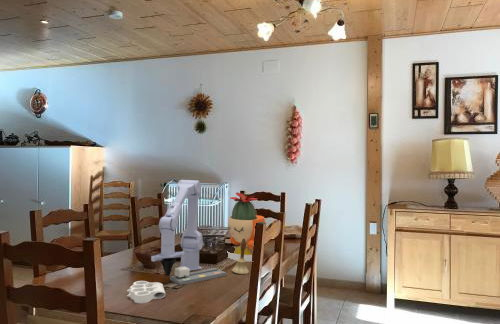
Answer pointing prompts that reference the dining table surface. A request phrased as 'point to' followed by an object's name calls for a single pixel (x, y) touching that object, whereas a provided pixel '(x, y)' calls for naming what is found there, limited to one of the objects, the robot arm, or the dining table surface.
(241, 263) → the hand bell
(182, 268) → the white block
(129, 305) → the dining table surface
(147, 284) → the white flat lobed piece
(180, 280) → the selector board
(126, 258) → the dining table surface
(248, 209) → the potted cactus
